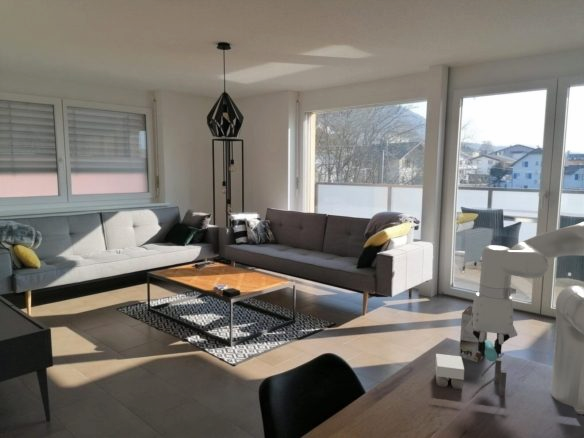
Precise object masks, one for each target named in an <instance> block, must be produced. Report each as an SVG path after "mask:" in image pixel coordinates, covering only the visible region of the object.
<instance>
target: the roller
mask: <svg viewBox="0 0 584 438" xmlns="http://www.w3.org/2000/svg"><path fill="white" fill-rule="evenodd" d="M484 353H485V355H484V357H485V359H486V360H487V361H489V362H496V359H497V358H498V355H497V353H496V350H495V348H494V344H493V342H492V340H488V339H487V340H485V352H484Z"/></svg>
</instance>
